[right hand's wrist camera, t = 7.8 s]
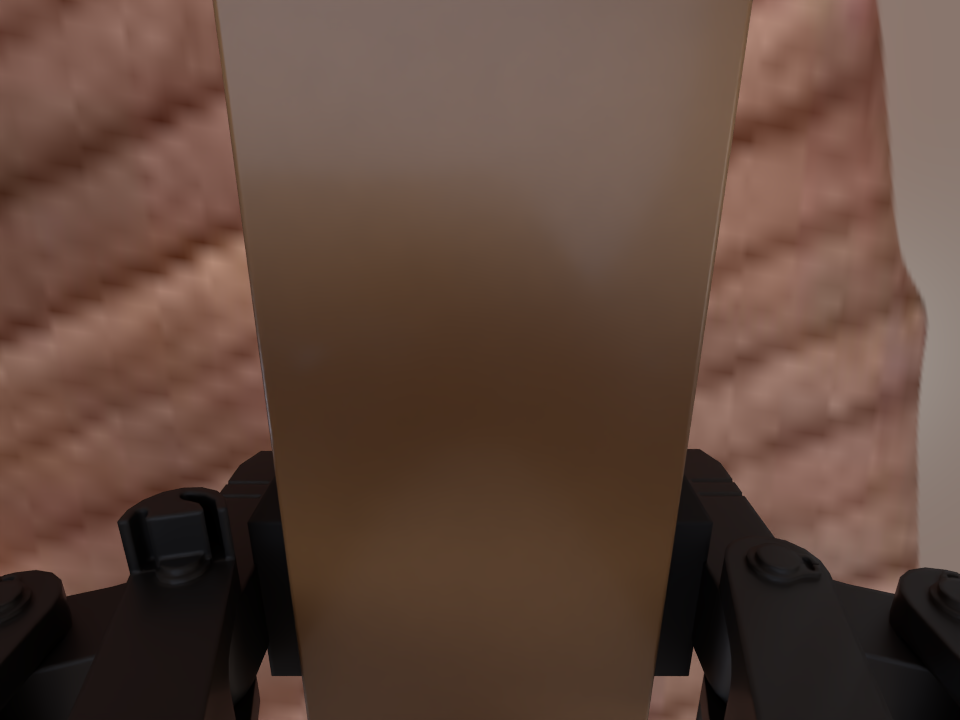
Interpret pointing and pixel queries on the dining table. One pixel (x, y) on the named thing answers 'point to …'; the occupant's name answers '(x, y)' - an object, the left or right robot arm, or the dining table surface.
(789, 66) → the dining table surface
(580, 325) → the bar
